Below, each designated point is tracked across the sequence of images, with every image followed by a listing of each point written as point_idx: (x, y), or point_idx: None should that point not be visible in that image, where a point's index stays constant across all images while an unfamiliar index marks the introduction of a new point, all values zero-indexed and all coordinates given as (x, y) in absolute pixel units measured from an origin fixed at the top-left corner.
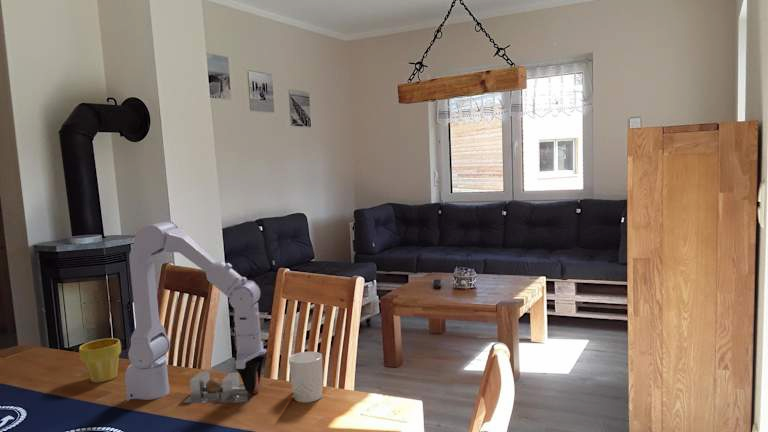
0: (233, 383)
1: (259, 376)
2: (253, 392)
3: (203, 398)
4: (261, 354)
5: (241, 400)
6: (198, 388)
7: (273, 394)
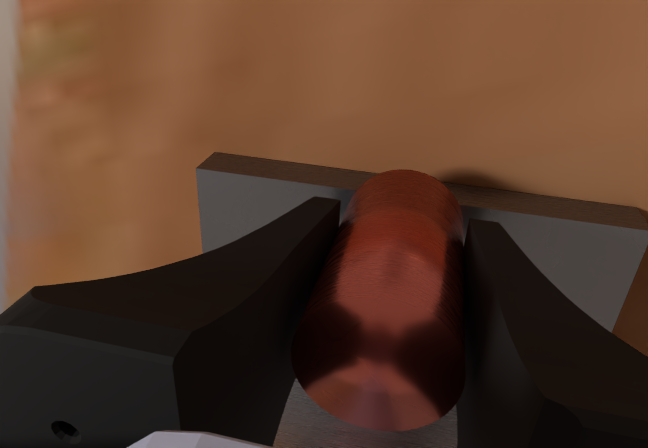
0: (434, 442)
1: (315, 229)
2: (460, 217)
3: None
4: (48, 408)
5: (585, 292)
6: None
7: (352, 16)
